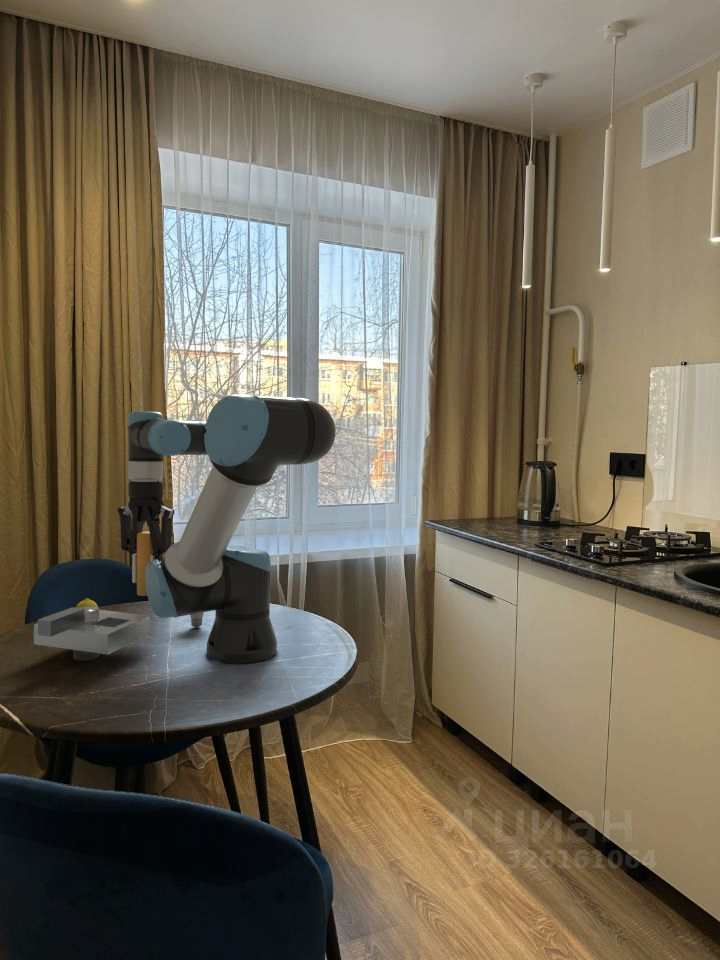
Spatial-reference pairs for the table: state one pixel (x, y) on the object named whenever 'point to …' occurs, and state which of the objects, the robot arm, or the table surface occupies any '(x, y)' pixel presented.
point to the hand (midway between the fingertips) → (146, 582)
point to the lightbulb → (196, 619)
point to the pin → (143, 560)
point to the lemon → (87, 603)
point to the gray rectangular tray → (90, 631)
